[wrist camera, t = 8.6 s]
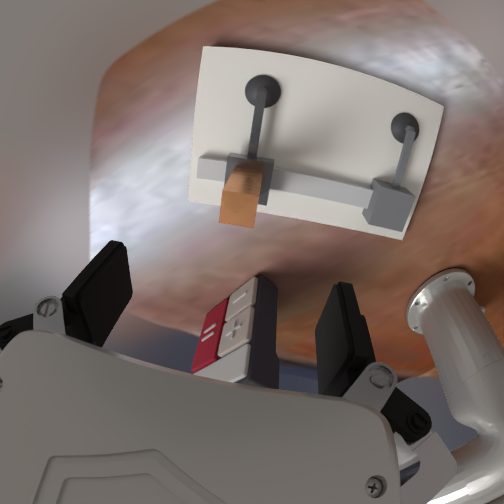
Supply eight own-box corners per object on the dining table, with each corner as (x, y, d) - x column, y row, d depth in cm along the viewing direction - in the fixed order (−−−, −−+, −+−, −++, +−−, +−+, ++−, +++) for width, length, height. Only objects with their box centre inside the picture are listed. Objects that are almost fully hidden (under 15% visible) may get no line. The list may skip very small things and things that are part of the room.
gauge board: (436, 105, 21) (457, 109, 17) (397, 233, 29) (409, 251, 26) (207, 48, 21) (195, 41, 17) (192, 195, 29) (180, 210, 26)
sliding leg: (286, 91, 21) (290, 88, 14) (267, 197, 26) (263, 240, 19) (240, 84, 21) (222, 79, 14) (226, 190, 26) (206, 230, 19)
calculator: (256, 269, 34) (243, 375, 21) (281, 289, 35) (279, 393, 23) (204, 312, 39) (177, 404, 26) (226, 327, 40) (208, 418, 27)
